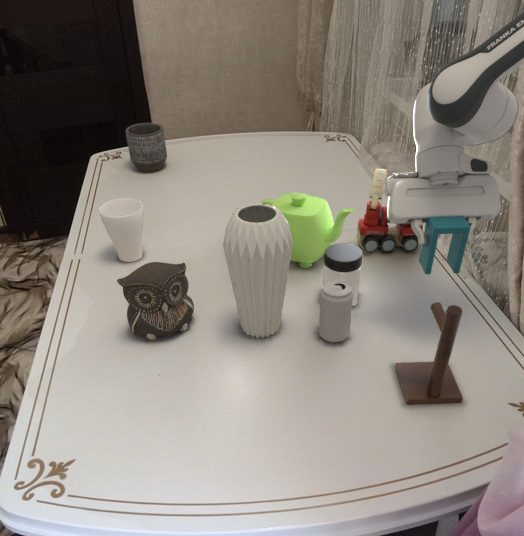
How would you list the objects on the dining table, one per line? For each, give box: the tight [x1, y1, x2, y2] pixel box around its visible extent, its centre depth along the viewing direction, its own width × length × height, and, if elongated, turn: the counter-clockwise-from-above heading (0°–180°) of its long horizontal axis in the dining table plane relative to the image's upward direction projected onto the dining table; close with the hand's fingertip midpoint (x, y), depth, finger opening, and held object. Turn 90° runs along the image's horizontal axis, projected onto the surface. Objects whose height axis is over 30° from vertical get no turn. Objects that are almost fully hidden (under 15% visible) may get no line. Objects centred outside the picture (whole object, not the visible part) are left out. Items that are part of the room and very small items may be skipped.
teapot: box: [260, 192, 356, 269], centre depth 132 cm, size 25×22×16 cm
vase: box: [222, 202, 293, 339], centre depth 108 cm, size 13×13×26 cm
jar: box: [321, 242, 364, 307], centre depth 120 cm, size 9×8×12 cm
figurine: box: [116, 261, 195, 341], centre depth 113 cm, size 15×14×15 cm
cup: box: [98, 197, 145, 263], centre depth 136 cm, size 10×10×14 cm
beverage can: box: [318, 280, 353, 343], centre depth 110 cm, size 6×6×12 cm
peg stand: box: [394, 301, 464, 405], centre depth 96 cm, size 10×10×20 cm
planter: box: [125, 122, 168, 173], centre depth 180 cm, size 12×12×13 cm
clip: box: [418, 216, 471, 275], centre depth 101 cm, size 5×6×10 cm
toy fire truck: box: [356, 168, 424, 254], centre depth 137 cm, size 11×16×18 cm
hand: (445, 244), depth 100 cm, fingers closed on clip, 6 cm apart
